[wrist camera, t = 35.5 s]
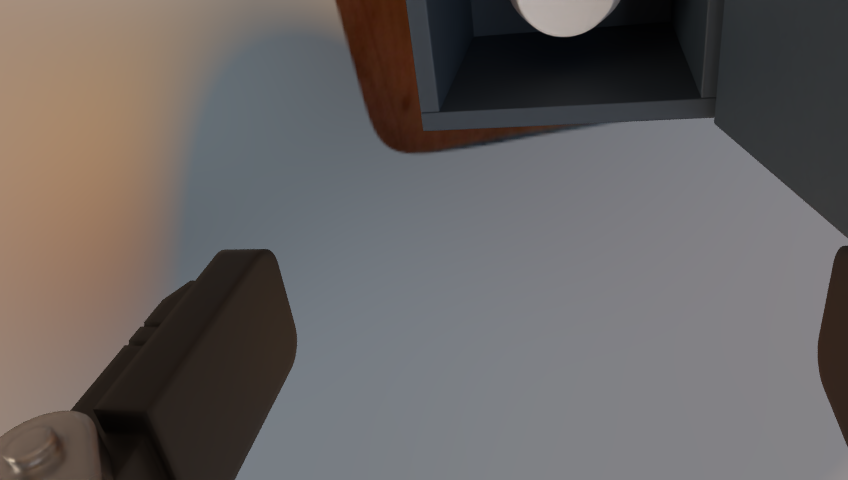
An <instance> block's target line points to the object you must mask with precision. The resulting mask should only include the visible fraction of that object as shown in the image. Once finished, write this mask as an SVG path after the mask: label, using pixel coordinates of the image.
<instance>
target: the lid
mask: <svg viewBox="0 0 848 480" xmlns="http://www.w3.org/2000/svg"><path fill="white" fill-rule="evenodd" d="M714 123H715V124H716V125H717V126H718V127H719V128H720V129H721V130H723V131H724V132H725V133H726V134H727V135H728V136H729V137H731V138H732V139H733V140H734V141H735V142H736V143H738V144H739V145H740V146H741V147H742V148H743V149H745V150H746V151H747V152H748V153H749V154H750V155H752V156H753V157H754V158H755V159H756V160H757V161H759V162H760V163H761V164H762V165H763V166H764V167H766V168H767V169H768V170H769V171H770V172H771V173H773V174H774V175H775V176H776V177H777V178H778V179H780V180H781V181H782V182H783V183H784V184H785V185H787V186H788V187H789V188H790V189H791V190H793V191H794V192H795V193H796V194H797V195H798V196H799V197H801V198H802V199H803V200H804V201H805V202H806V203H808V204H809V205H810V206H811V207H812V208H813V209H814V210H816V211H817V212H818V213H819V214H820V215H821V216H823V217H824V218H825V219H826V220H827V221H828V222H830V223H831V224H832V225H833V226H834V227H836V228H837V229H838V230H839V231H840V232H841V233H843V234H844V235H845V236H846V237H847V238H848V0H725V2H724V13H723V25H722V37H721V48H720V60H719V72H718V84H717V95H716V107H715V119H714Z"/></svg>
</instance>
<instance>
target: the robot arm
mask: <svg viewBox="0 0 848 480" xmlns="http://www.w3.org/2000/svg"><path fill="white" fill-rule="evenodd" d="M296 348H297V334H296V328H295V324H294V320H293V316H292V313H291V309H290V305H289V302H288V298H287V294H286V291H285V287H284V284H283V280H282V276H281V273H280V269H279V265H278V262H277V260H276V257H275V255H274V254H273V253H272V252H271V251H270V250H267V249H250V250H249V249H247V250H244V249H243V250H221V251H220V252H218V253H217V254H216V256H215V257H214V258H213V259H212V261H211V262H210V263H209V265H208V266H207V267H206V268H205V269H204V271H203V272H202V273H201V274H200V276H199V277H198V278H197V279H196V281H189V282H188V283H187V284H185V285H184V286H182V287H181V288H179V289H178V290H177V291H175V292H174V293H172V294H171V295H169V296H168V297H166V298H165V299H163V300H162V301H161V303H160V304H159V305H158V306H157V307H156V309H155V310H154V311H153V312H152V313H151V315H150V316H149V317H148V318H147V320H146V321H145V322H144V327H140V328H139V329H138V330H137V331H136V333H135V334H134V335H133V336H132V337H131V339H130V340H129V345H128V346H127V345H125V346H124V347H123V348H122V349H121V351H120V352H119V353H118V354H117V355H116V357H115V358H114V359H113V360H112V361H111V363H110V364H109V365H108V366H107V367H106V369H105V370H104V371H103V372H102V373H101V375H100V376H99V377H98V378H97V379H96V381H95V382H94V383H93V384H92V385H91V387H90V388H89V389H88V390H87V391H86V392H85V394H84V395H83V396H82V397H81V398H80V400H79V401H78V402H77V403H76V404H75V406H74V407H73V408H72V409H71V410H70V411H58V412H53V413H48V414H44V415H41V416H38V417H35V418H33V419H30V420H28V421H25V422H23V423H22V424H20V425H18V426H16V427H14V428H13V429H11V430H9V431H8V432H7V433H5V434H4V435H2V436H1V437H0V480H235V478H236V476H237V474H238V472H239V470H240V468H241V466H242V464H243V462H244V460H245V458H246V456H247V454H248V452H249V451H250V449H251V447H252V445H253V443H254V441H255V439H256V437H257V435H258V433H259V431H260V429H261V427H262V425H263V423H264V421H265V419H266V417H267V415H268V413H269V411H270V409H271V407H272V405H273V403H274V402H275V400H276V398H277V396H278V394H279V392H280V390H281V388H282V386H283V384H284V382H285V380H286V378H287V376H288V374H289V372H290V370H291V368H292V366H293V363H294V360H295V355H296ZM818 365H819V372H820V377H821V381H822V384H823V387H824V390H825V392H826V394H827V397H828V399H829V402H830V404H831V407H832V409H833V412H834V414H835V417H836V419H837V421H838V424H839V427H840V429H841V431H842V434H843V436H844V439H845V441H846V444H847V446H848V246H842V247H841V248H840V249H839V250H838V252H837V254H836V256H835V259H834V263H833V268H832V273H831V278H830V283H829V288H828V293H827V299H826V304H825V309H824V314H823V319H822V324H821V329H820V334H819V340H818Z"/></svg>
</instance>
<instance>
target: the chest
mask: <svg viewBox="0 0 848 480" xmlns="http://www.w3.org/2000/svg"><path fill="white" fill-rule="evenodd" d="M724 2H725V0H620V2H619V3H618V5H617V6H616V8H615V9H614V10H613V11H612V12H611V13H610V14H609V15H608V16H607V17H606V18H605V19H604V20H603V21H601V22H600V23H599V24H598V25H596V26H595V27H594V28H592V29H590V30H589V31H587V32H584V33H582V34H579V35H576V36H571V37H556V36H551V35H548V34H545V33H543V32H541V31H539V30H537V29H536V28H534V27H533V26H532V25H531V24H529V23H528V22H527V21H525V20H524V19H523V18H522V17H521V16H520V15H519V13H518V12H517V11H516V9H515V8H514V7H513V5H512V3H511V1H510V0H406V6H407V13H408V21H409V28H410V35H411V43H412V50H413V58H414V65H415V72H416V80H417V87H418V94H419V102H420V109H421V112H422V113H421V117H422V125H423V130H424V131H435V130H456V129H478V128H499V127H521V126H542V125H564V124H585V123H606V122H628V121H649V120H670V119H692V118H714V117H715V107H716V95H717V84H718V72H719V60H720V48H721V37H722V25H723V13H724Z"/></svg>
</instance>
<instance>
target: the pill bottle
mask: <svg viewBox="0 0 848 480" xmlns="http://www.w3.org/2000/svg"><path fill="white" fill-rule="evenodd" d="M510 1H511V3H512V5H513V7H514V8H515V9H516V11H517V12H518V13H519V15H520V16H521V17H522V18H523V19H524V20H525V21H527V22H528V23H529V24H531V25H532V26H533V27H534V28H536V29H537V30H539V31H541V32H543V33H545V34H548V35H551V36H556V37H571V36H576V35H579V34H582V33H584V32H587V31H589V30H590V29H592V28H594V27H595V26H596V25H598V24H599V23H600V22H601V21H603V20H604V19H605V18H606V17H607V16H608V15H609V14H610V13H611V12H612V11H613V10H614V9H615V8H616V6H617V5H618V3H619V2H620V0H510Z"/></svg>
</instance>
